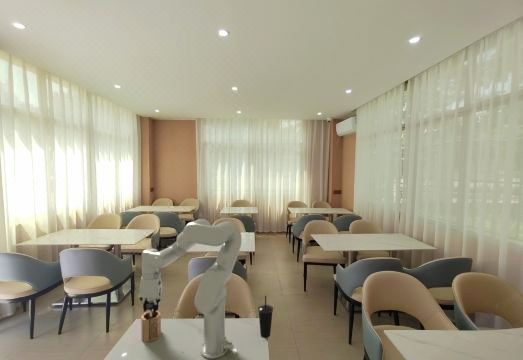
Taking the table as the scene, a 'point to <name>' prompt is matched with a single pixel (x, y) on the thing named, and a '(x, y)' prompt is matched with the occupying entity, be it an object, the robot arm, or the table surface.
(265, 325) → the drinking cup
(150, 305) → the plunger
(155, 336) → the brown faceted holder
